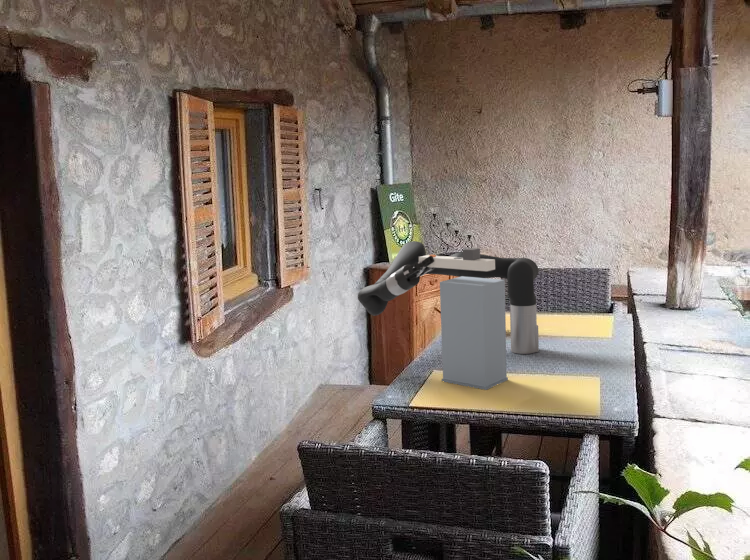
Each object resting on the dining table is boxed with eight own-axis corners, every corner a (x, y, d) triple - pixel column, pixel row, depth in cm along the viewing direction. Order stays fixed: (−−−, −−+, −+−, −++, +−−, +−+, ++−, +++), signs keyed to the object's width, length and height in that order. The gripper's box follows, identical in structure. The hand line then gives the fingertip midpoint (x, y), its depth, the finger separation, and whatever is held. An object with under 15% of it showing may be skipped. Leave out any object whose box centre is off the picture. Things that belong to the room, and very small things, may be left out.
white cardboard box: (419, 266, 249) (418, 247, 248) (427, 264, 252) (426, 245, 251) (487, 271, 232) (486, 250, 231) (495, 269, 235) (494, 249, 234)
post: (441, 381, 245) (438, 282, 239) (464, 371, 254) (461, 276, 249) (485, 390, 234) (483, 286, 228) (508, 379, 243) (506, 279, 238)
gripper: (420, 287, 262) (455, 264, 251) (393, 293, 251) (428, 271, 240) (411, 267, 263) (445, 244, 252) (384, 273, 253) (418, 249, 242)
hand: (437, 257), depth 246 cm, fingers closed on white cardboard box, 4 cm apart
